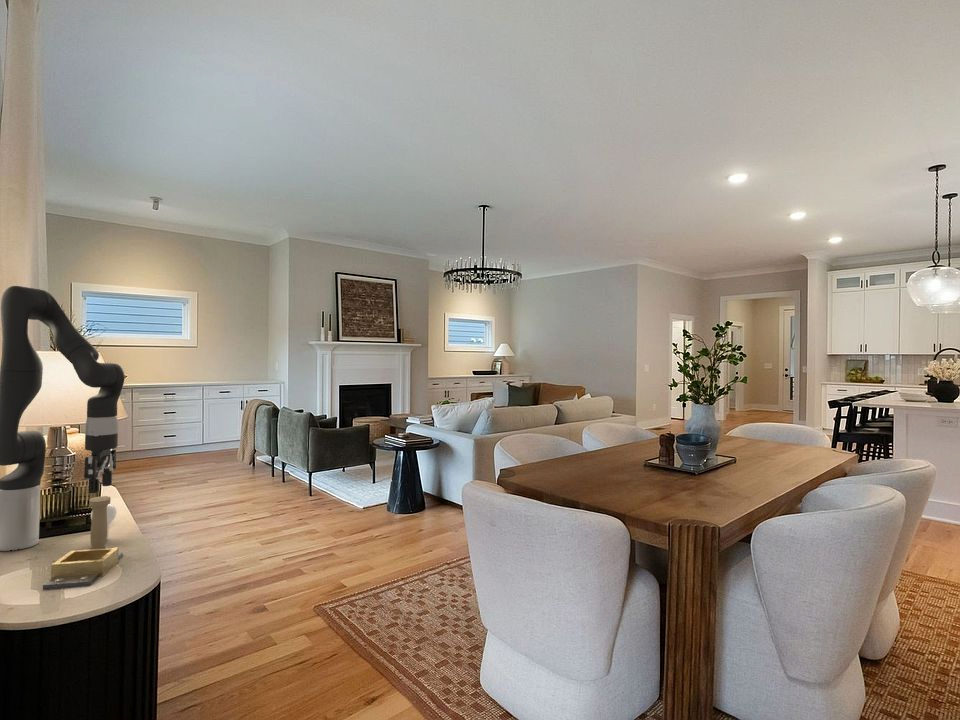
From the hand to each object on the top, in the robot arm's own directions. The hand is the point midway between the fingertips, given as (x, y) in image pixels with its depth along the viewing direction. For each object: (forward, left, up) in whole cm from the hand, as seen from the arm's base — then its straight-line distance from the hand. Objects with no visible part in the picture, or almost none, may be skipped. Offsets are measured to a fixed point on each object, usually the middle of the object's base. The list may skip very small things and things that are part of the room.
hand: (100, 489), depth 146 cm
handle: (0, 0, -18) cm, 18 cm away
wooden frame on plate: (+3, -15, -18) cm, 23 cm away
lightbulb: (-3, +11, -18) cm, 21 cm away
